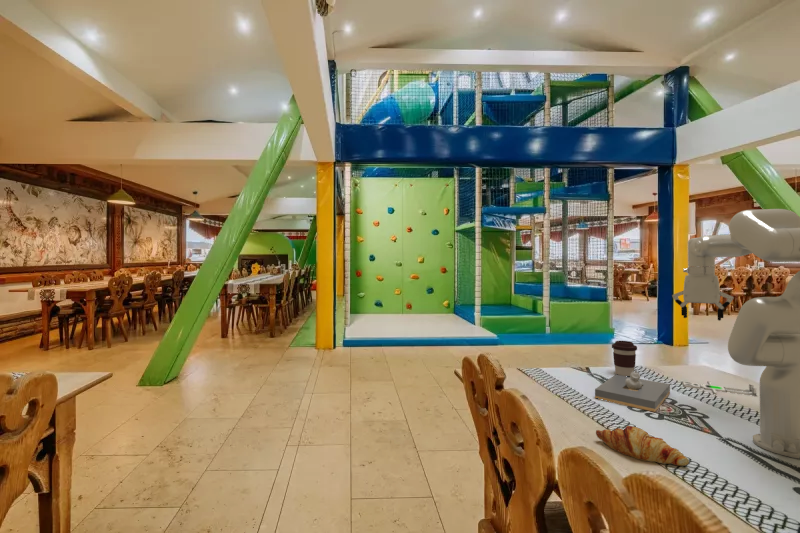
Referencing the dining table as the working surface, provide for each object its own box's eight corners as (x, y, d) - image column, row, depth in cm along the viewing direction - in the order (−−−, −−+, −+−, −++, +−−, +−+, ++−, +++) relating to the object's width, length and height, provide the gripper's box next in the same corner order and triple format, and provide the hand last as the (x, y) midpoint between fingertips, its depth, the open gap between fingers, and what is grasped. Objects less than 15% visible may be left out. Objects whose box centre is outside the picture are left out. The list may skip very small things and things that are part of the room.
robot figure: (749, 389, 150) (681, 380, 162) (749, 380, 150) (681, 373, 162) (760, 401, 136) (684, 391, 148) (760, 392, 136) (684, 383, 148)
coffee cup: (607, 373, 172) (606, 340, 172) (621, 370, 177) (620, 339, 177) (628, 379, 163) (627, 344, 163) (642, 376, 168) (642, 342, 168)
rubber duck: (623, 389, 141) (627, 368, 140) (624, 383, 147) (628, 364, 146) (640, 393, 138) (644, 373, 137) (641, 388, 144) (644, 368, 143)
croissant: (690, 477, 93) (692, 444, 96) (685, 473, 87) (688, 438, 90) (598, 448, 108) (602, 420, 111) (588, 442, 102) (593, 413, 104)
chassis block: (655, 411, 126) (655, 401, 126) (595, 398, 140) (594, 389, 140) (669, 393, 145) (669, 384, 145) (615, 382, 158) (615, 374, 158)
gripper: (670, 271, 138) (670, 317, 138) (732, 271, 126) (733, 322, 126) (673, 271, 144) (674, 315, 143) (734, 271, 131) (734, 319, 131)
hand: (701, 318), depth 135 cm, fingers open, 9 cm apart
